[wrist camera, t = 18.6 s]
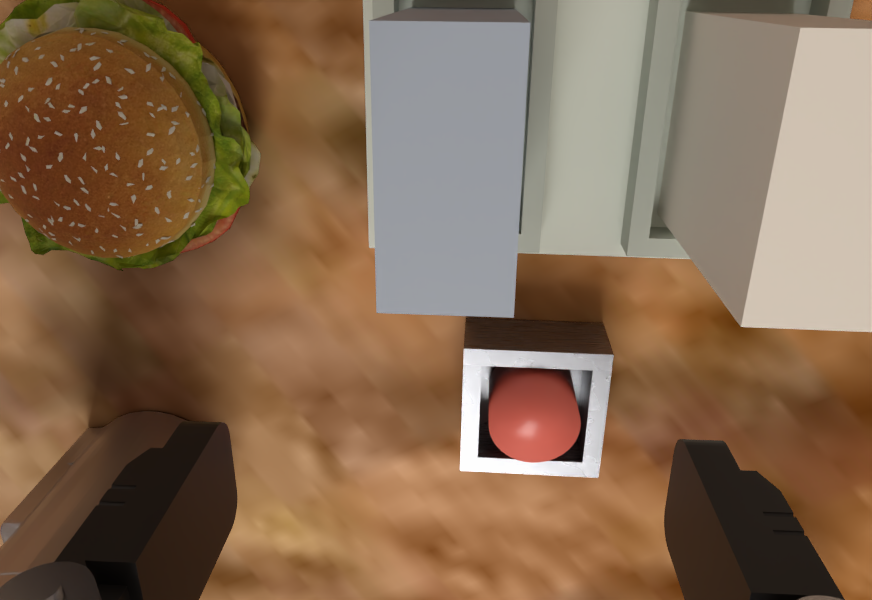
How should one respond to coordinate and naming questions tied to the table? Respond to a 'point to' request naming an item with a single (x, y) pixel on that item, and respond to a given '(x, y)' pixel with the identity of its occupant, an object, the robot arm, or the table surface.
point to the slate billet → (448, 158)
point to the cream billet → (775, 166)
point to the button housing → (535, 348)
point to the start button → (533, 412)
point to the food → (118, 132)
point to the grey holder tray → (594, 116)
